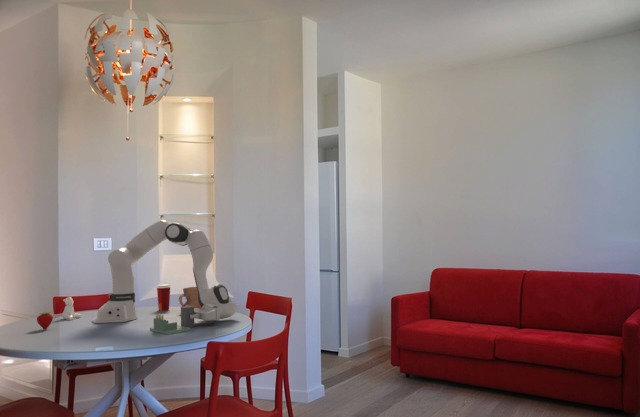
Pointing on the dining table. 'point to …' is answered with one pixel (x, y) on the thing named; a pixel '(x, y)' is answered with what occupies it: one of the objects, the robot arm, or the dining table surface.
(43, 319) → the strawberry
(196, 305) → the ceramic jug
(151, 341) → the dining table surface
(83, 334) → the dining table surface
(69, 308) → the white creature statuette
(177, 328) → the header board
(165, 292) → the coffee cup
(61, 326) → the dining table surface
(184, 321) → the plug block
